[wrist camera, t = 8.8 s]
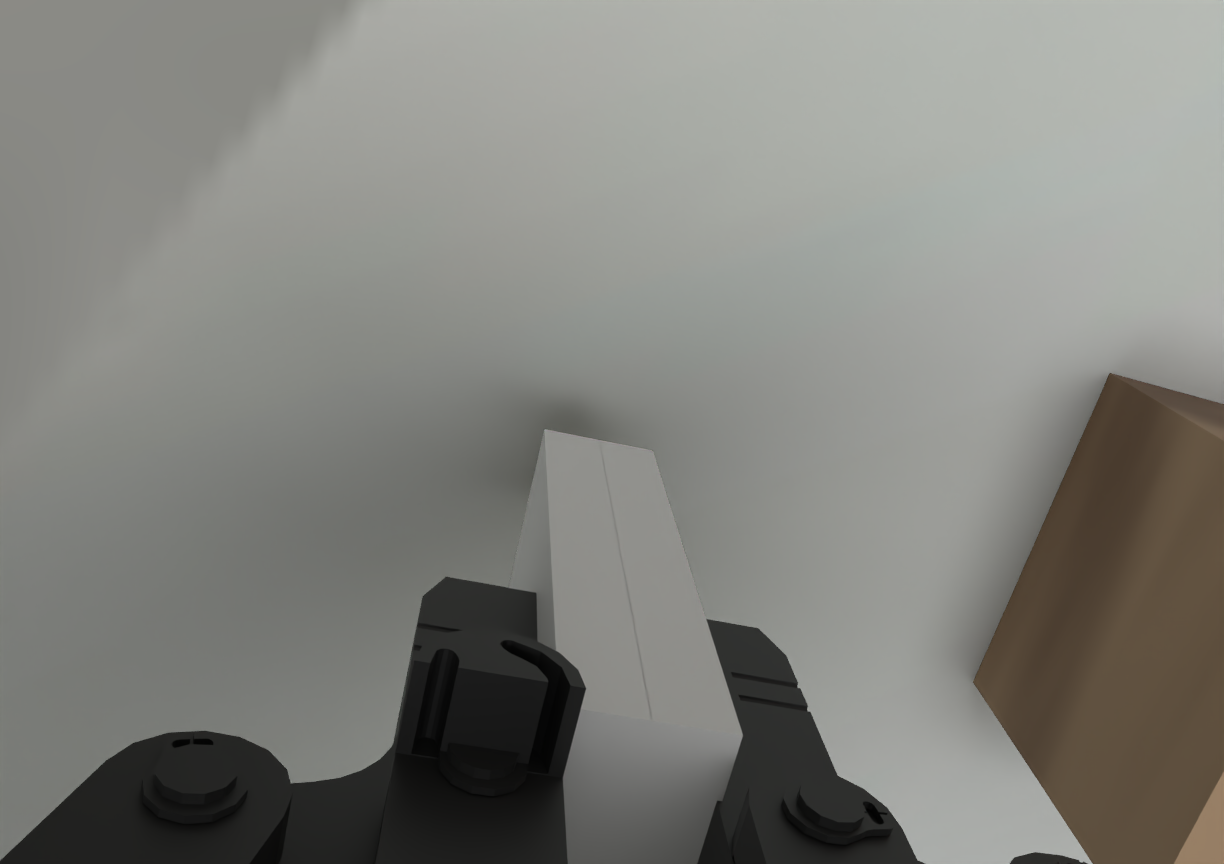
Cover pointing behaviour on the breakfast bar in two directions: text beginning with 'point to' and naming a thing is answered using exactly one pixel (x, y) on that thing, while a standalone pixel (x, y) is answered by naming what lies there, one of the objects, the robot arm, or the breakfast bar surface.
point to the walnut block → (1126, 634)
